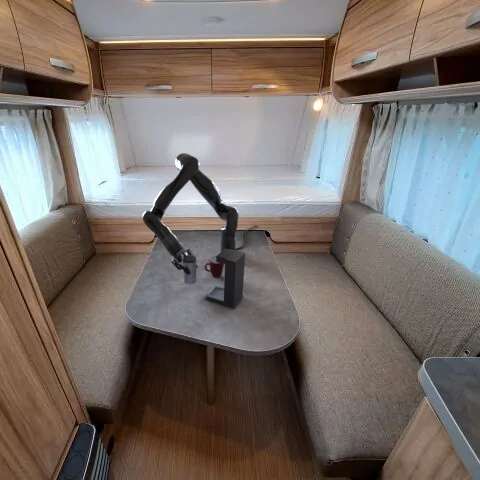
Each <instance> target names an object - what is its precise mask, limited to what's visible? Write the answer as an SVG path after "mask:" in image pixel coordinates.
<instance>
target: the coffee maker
mask: <svg viewBox="0 0 480 480" xmlns="http://www.w3.org/2000/svg"><path fill="white" fill-rule="evenodd" d="M215 257H216V262H218V263H222V264H224V277H223V278H224V279H223V280H224V281H223V284H224V285H223V286H219V285H217V284H215V285H214V286H213V288H211V289H210V290H209V291H208V292H207V294H206V296H205V300H207V301H210V302H213V303H216V304H219V305H222V306H225V307H228V308H230V309H234V308H235V307H236V306H237V304H238V303H239V302H240V300H241V299H242V297H243V294H244V279H245V265H246V264H245V263H246V251H242V250H239V249H237V250H229V249H224V250H223V251H222V252H220V251H219V253H218V254H217V255H216V256H215Z"/></svg>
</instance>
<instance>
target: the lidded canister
mask: <svg viewBox="0 0 480 480" xmlns="http://www.w3.org/2000/svg"><path fill="white" fill-rule="evenodd" d="M193 255H194V254H193ZM193 255H188V256H185V257H184V258H183V259H184V263H185V265H186V267H187V268H188V269H189V271H190V272H191V273H190V274H189V275H187V274H186V273H185V272H184V271H183V277H184V278H183V279H184V283H185V284H186V285H194V284H196V283H197V268H196V264H197V256H195V255H194V256H193Z"/></svg>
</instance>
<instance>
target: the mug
mask: <svg viewBox="0 0 480 480" xmlns="http://www.w3.org/2000/svg"><path fill="white" fill-rule="evenodd" d="M208 266H209V269H208V268H207V267H208ZM224 268H225V264H222V263H218V262H216V256H211V257H209V260H208V262H207V263H205V265H204V270H205V271H206V272H209V273H210V274H211V276H212V277H213V278H217V279H218V278H219V277H221V275H222V274H223V271H224Z"/></svg>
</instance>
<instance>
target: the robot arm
mask: <svg viewBox="0 0 480 480" xmlns="http://www.w3.org/2000/svg"><path fill="white" fill-rule="evenodd" d="M175 166H176V168H177V170H178V174H177V175H176V177H175V178H173V180H172V181H170V182H169V183H168V184H167V185H166V186H165V187H163V188H162V189H161V190H160V192H158V193H159V194H158V195H157V196H156V198H155V199H154V200H153V201H154V202H153V206H152V208H151V209H150V210H146V211H144V212H143V213H142V221H143V223H144V225H145V226H146V227H147V228H148V229H149V230H150V231H151V232H152V233H153V234H154V235H155V237H157V239H158V240H159V241H160V243H161V245H162V246H163V247H164V248H165V250H166V251H167V252H168V254H169V255H170V256H171V257H173V258H172V260H171V261H170V262H171V264H172V265H173V266H174V267H175V268H176V269H177V270H178V271H181V270H182V271H183V273H184V272H185V273H186V274H187V275H189V274H190V273H191V272H190V271H189V269H188V268H187V267H186V265H185V263H184V259H183V258H184V257H185V256H188V255H193V256H195V255H194V253H193V252H192V250H191V248H187V249H184V245H183V244H182V242H181V241H180V240H179V239H178V238H177V236H176V235H175V234H174V233H173V232H172V231H171V229H170V228H169V227H168V226H167V225H166V224H165V223H163V221H161V220H162V219H163V217H164V215H165V214H166V213H165V212H166V211H167V209H168V207H170V205H171V204H172V202H173V200H174V199H175V197H176V196H177V195H178V194H179V193H180V191H182V189H183V188H184V187H185V186H186V185H187V183H188V182H189V181H190V183H191V184H192V185H193V187H194V188H195V189H196V191H197V192H198V193H199V194H200V196H201V197H202V198H203V200H205V201H206V202H207V203H208V205H210V206H211V208H212V209H213V210H214V212H215V213H216V215H217V217H219V219H221V220H222V221H224V222H226V223H225V225H223V226H221V228H220V248H219V249H220V251H219V253H220V252H222V251H223V250H224V249H229V250H240V249H242V248H244V247H245V246H246V244H247V235H246V234H247V232H248V231H250V230H252V229H253V228H257V227H258V226H257V225H253V226H252V227H250V228H248V229H246V231H244V234H243V235H244V236H243V237H244V244H242V245H241V246H239V247H236V242H237V229H238V227H239V226H238V225H239V216H240V214H239V209H238V208H237V207H235V206H231V205H228V204H226V203H225V201H224V200H223V199H222V198H221V191H220V189H219V188H218V187H217V185H216V184H215V183H214V182H213V180H211V179H210V178H209V176H208V175H205V174H204V173H203V172H202V171H201V170H200V160H199V159H198V158H197V157H195V156H194V155H191V154H189V153H185V152H183V153H179V154H178V155H177V156H176V158H175ZM198 268H199V266H198V264H197V263H196V269H198Z"/></svg>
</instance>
